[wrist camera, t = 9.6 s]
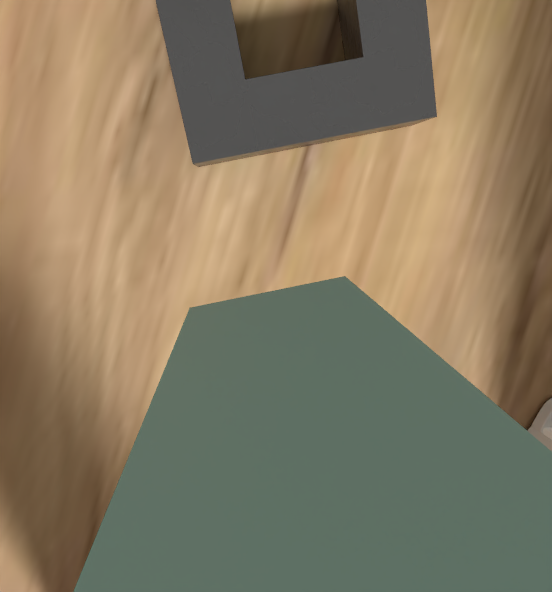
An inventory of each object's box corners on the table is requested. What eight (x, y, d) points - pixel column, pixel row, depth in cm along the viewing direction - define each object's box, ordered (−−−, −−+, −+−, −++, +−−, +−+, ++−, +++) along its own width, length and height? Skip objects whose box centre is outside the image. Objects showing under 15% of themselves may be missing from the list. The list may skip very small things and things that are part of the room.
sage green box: (344, 275, 11) (944, 785, 2) (375, 477, 13) (792, 1365, 3) (189, 307, 11) (-118, 1059, 2) (239, 506, 13) (239, 1523, 3)
